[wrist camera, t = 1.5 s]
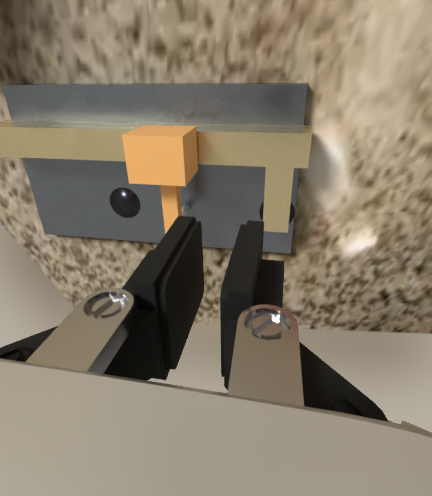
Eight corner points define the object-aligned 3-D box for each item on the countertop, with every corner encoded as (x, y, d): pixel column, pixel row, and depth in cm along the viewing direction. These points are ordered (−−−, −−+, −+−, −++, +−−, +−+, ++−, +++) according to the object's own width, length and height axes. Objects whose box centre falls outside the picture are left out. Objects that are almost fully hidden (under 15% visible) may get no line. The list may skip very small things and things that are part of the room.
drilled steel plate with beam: (314, 83, 26) (317, 88, 22) (296, 248, 32) (296, 272, 29) (4, 84, 30) (-33, 88, 27) (46, 229, 37) (21, 247, 34)
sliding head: (205, 119, 27) (182, 136, 21) (208, 216, 31) (189, 251, 25) (155, 118, 28) (122, 135, 22) (165, 213, 32) (138, 247, 26)
